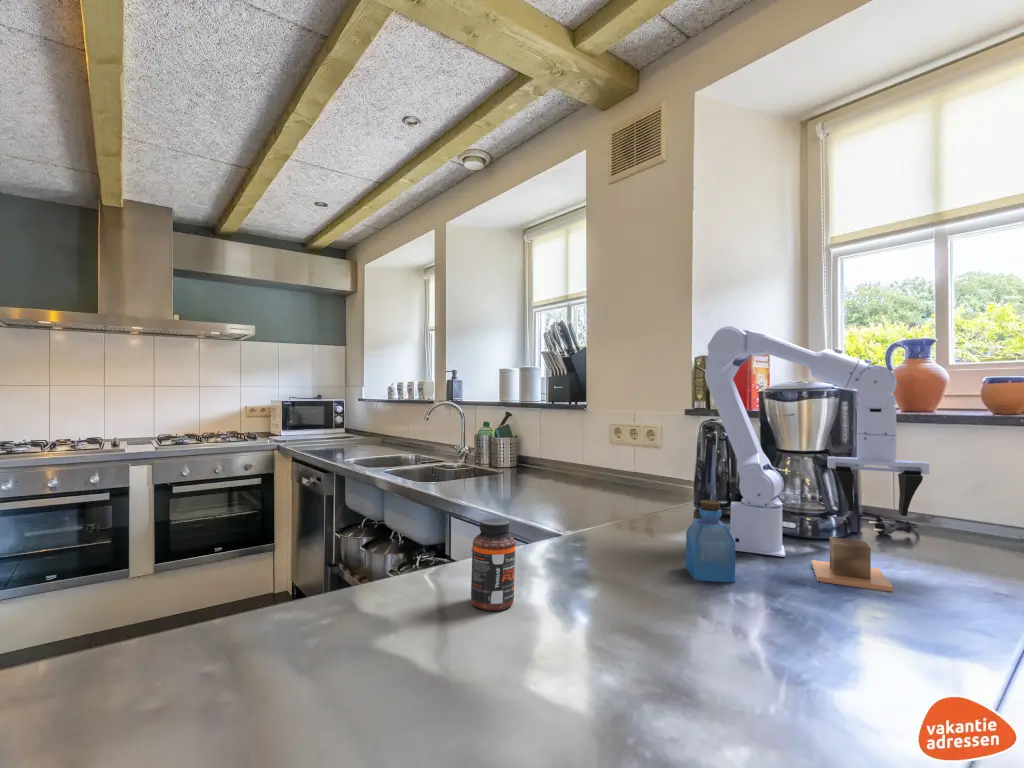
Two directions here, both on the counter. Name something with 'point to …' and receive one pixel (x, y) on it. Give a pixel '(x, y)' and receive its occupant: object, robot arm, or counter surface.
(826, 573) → the plate
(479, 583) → the supplement bottle
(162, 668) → the counter surface
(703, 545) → the perfume bottle
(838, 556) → the cube
